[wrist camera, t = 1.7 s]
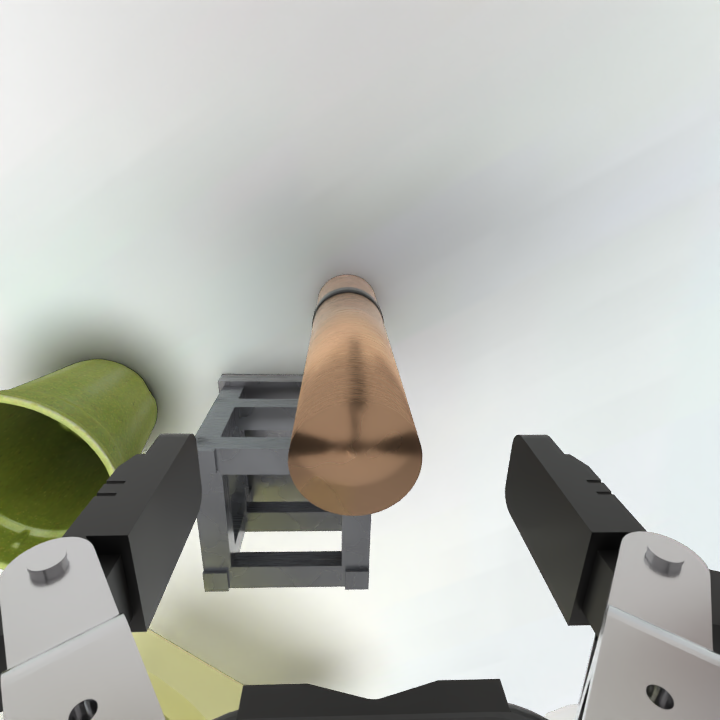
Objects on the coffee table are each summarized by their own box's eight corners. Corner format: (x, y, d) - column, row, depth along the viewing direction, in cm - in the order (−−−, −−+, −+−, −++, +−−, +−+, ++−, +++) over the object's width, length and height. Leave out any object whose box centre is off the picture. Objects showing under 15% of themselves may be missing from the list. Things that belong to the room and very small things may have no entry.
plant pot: (16, 442, 29) (-110, 543, 21) (38, 307, 26) (-99, 364, 18) (164, 484, 30) (101, 594, 22) (201, 362, 27) (143, 438, 19)
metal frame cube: (222, 374, 28) (178, 445, 20) (370, 375, 28) (380, 445, 21) (233, 496, 31) (199, 595, 24) (365, 495, 31) (373, 593, 24)
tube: (316, 273, 26) (283, 399, 11) (378, 274, 26) (429, 399, 11) (317, 332, 27) (288, 517, 12) (375, 332, 27) (419, 516, 12)
